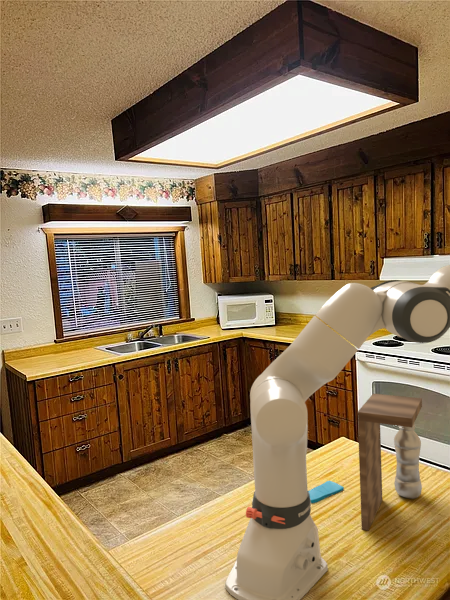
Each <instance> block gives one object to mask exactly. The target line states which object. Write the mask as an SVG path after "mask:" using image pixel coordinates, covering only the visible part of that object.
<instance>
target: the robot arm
mask: <svg viewBox="0 0 450 600" xmlns="http://www.w3.org/2000/svg"><path fill="white" fill-rule="evenodd" d="M381 329H386V330H387V332H389V333H391V334H392V335H395V336H397V337H399V338H403V339H404V340H406V341H408V342H412V343H418V344H427V343H432V342H434V341H435V342H436V341H437V340H439V339H440V338H441V337H443V336H444V335H445V334H446V333H447V332H448V331H449V329H450V264H448V265H445V266H442V267H440V268H439V269H437V270H436V271H435V272H434V273H432V275H431V276H430V278H429V279H428V281H427V282H425V283H424V284H419V283H416V282H411V281H405V280H404V281H403V280H399V279H393V280H392V279H391V280H387V281H384V282H381V283H379V284H376V285H375V286H372V287H369V286H368V285H366V284H362V283H360V282H359V283H358V282H350V283H347V284H345V285H344V286H342V287H341V288H340V289H339V290H338V291H336V292H335V293H334V294H333V295H332V296H331V297H330V298H329V299H328V300H327V301H326V302H325V303H324V304H323V305H322V306H321V307H320V308H319V309H318V311H317V312H316V313H315V314H314V315H313V316H312V318H311V319H310V320H309V322H308V323H307V324H306V325H305V326H304V328H302V330H301V331H300V333H299V334H298V335H297V337H295V339H294V340H293V341H292V343H290V345H289V346H287V348H285V350H284V351H283V352H281V353H280V354H279V356H277V357H276V359H275V358H274V360H273V361H272V362H271V363H270V364H269V365H268V366H267V367H266V368H265V370H263V372H262V373H260V374H259V375H258V376H257V378H255V380H254V382H253V383H252V385H251V388H250V393H249V399H250V403H249V404H250V407H249V408H250V423H251V424H250V425H251V442H252V444H251V445H252V457H253V458H252V460H253V461H252V462H253V476H254V477H253V478H254V480H253V481H254V491H253V494H252V495H253V497H252V501H251V506H248V507H247V508H246V509H245V510H246V511H245V517H246V518H249V521H248V525H247V526H246V529H245V531H244V532H245V533H244V534H243V537H242V540H241V542H240V546H239V549H238V551H237V555H236V560H235V561H234V563H233V566H232V567H231V570H230V572H229V573H228V576H227V578H226V580H225V582H224V583H225V584H224V588H225V589H226V591H227V592H228V593H229V594H230V595H231V596H232V597H234V598H235V599H237V600H302V599H303V598H304V596H305V595H306V594H307V593H308V592H309V590H311V589H312V587H314V585H315V584H317V582H318V581H319V580H320V579H321V578H323V575H325V574H326V572H328V570H329V568H328V562H327V561H326V560H325V559H324V558H323V557H322V553H321V546H320V538H319V528H318V526H317V524H316V523H315V522H314V519H313V518H312V515H311V511H312V508H311V507H312V503H311V499H310V494H309V492H308V491H309V490H308V474H307V473H308V471H307V469H308V468H307V451H308V450H307V449H308V433H309V432H308V431H309V430H308V418H309V417H308V416H309V415H308V408H307V404H306V402H307V400H308V399H309V398H310V397H312V395H313V394H315V392H316V391H318V390H319V389H320V388H321V387H323V386H324V385H325V384H327V383H329V382H331V381H334V379H336V377H337V376H338V375H339V374H340V372H341V371H342V370H343V369H344V368H345V367H346V365H347V364H348V363H349V362H350V361H351V359H352V358H353V357H354V355H356V353H357V352H358V351H359V349H360V348H361V347H362V346H363V345H364V344H365V342H366V340H367V339H368V337H371V335H372V334H374V333H375V332H377V331H379V330H381Z"/></svg>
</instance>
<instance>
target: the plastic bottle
mask: <svg viewBox="0 0 450 600" xmlns="http://www.w3.org/2000/svg"><path fill="white" fill-rule="evenodd" d="M398 429H399V430H398V431H397V432H396V433H395V435H394V437H393V443H394V448H395V459H396V460H395V461H396V470H395V477H394V478H395V479H394V489H395V491H396V493H397V495H399V496H400V497H401V498H406V499H417V498H419V497H420V495H421V494H422V490H423V489H422V488H423V487H422V480H421V477H420V455H421V446H422V441H421V439H420V437H419V435H418V434H417V433H416V431H415V430H416V426H415V423H414V424H413V427H404V426H398Z"/></svg>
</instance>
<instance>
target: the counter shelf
mask: <svg viewBox="0 0 450 600" xmlns="http://www.w3.org/2000/svg"><path fill="white" fill-rule="evenodd" d="M422 408H423V397H422V398H421V397H411V396H403V395H402V396H401V395H392V394H384V393H383V394H381V393H372V394H371V396H370V397H369V398H368V399H367V400H366V401H365V403H364V404H363V405H362V406H361V407H360V408H359V409H358V411H357V428H358V429H357V433H358V434H357V435H358V436H357V437H358V460H359V462H358V463H359V464H358V465H359V486H360V489H359V493H360V517H361V519H360V520H361V522H360V523H361V530H363V531H367V532H369V530H370V528H371V526H372V523H373V521H374V520H375V517H376V515H377V512H378V510H379V508H380V506H381V504H382V501H383V477H382V476H383V475H382V443H381V440H382V439H381V437H382V436H381V425H382V424H383V425H388V426H389V425H390V426H398V427H399V426H404V427H413V424H414V425H415V423H416V419H417V418H418V416H419V414H420V412H421V409H422Z"/></svg>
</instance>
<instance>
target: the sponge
mask: <svg viewBox="0 0 450 600" xmlns="http://www.w3.org/2000/svg"><path fill="white" fill-rule="evenodd" d="M344 488H345V487H344V486H343V485H341V484H339V483H338V482H335V481H332V480H327V481H325V482H324V483H322V484H319V485H318V486H315V487H313V488H311V489H310V490H308V492H309V494H310V499H311V504H315V503H318V502H321V501H323V500H325V499H327V498H329V497H331V496H333V495H335V494H338V493H340V492H343V491H344V490H345V489H344Z"/></svg>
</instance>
